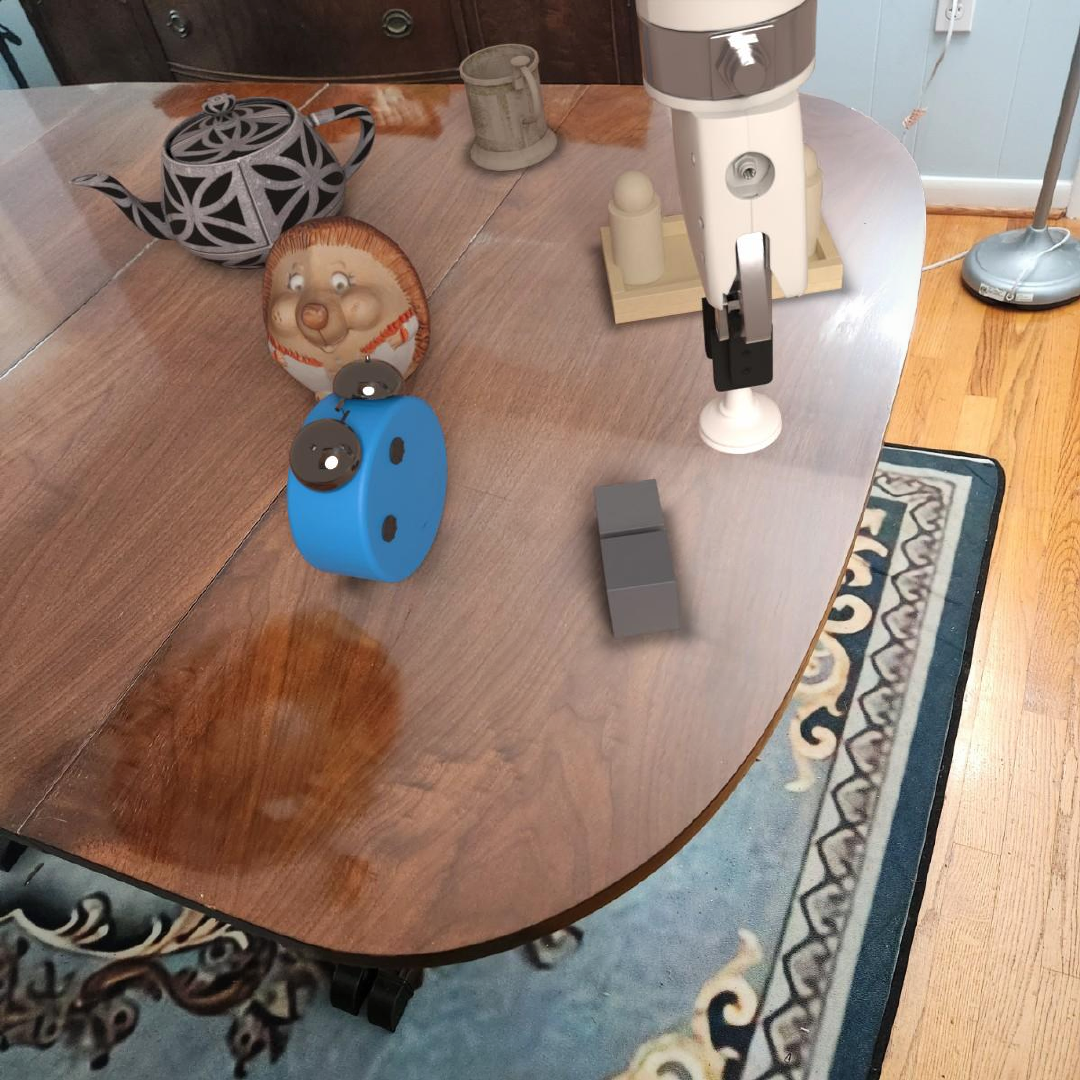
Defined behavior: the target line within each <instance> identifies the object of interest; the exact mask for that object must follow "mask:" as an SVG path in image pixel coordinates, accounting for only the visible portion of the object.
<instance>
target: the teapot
mask: <svg viewBox="0 0 1080 1080" xmlns="http://www.w3.org/2000/svg"><path fill="white" fill-rule="evenodd" d="M201 109H202V110H200V111H198V112H195V113H194V114H192V115H190V116H188V117H187V118H185V119H184V120H182V121H181V122H180V123H178V124H177V125H175V127H173V128H172V129H171V130H170V132H168V133H167V135H166V137H165V138H164V140H163V142H162V145H161V154H160V155H161V156H160V193H161V200H159V201H147V200H144V199H141V198H139V197H137V196H136V195H134V194H133V193H132V192H131V191H130V190H129V189H128V188H127V187H126V186H124V185H123V184H122V182H121V181H120V180H118V179H116V178H115V177H113V176H111V175H109V174H107V173H104V172H90V173H86V174H83V175H79V176H77V177H74V178H72V179H70V180H69V181H68V184H69V185H73V186H78V187H85V188H86V187H87V188H90V189H93V190H96V191H98V192H100V193H101V194H103V195H104V196H105V197H107V198H109V199H110V201H112V203H114V204H115V206H116V207H117V208H118V209H119V210H120V211H121V212H122V213H123V215H125V216H126V218H127V219H128V220H129V221H130V222H131V223H132V224H133V226H135V227H136V228H137V229H138V230H140V231H141V232H142V233H144V234H146V235H148V236H150V237H153V238H155V239H159V240H163V241H176V242H177V244H178V245H180V247H181V248H183V249H184V250H185V251H186V252H188V253H189V254H191V255H193V256H195V257H197V258H198V259H201V260H204V261H206V262H210V263H212V264H217V265H220V266H223V267H226V268H232V269H241V270H242V269H256V268H263V267H265V264H266V261H267V257H268V255H269V252H270V250H271V248H272V246H273V244H274V242H275V241H276V240H277V239H278V237H279V236H280V235H281V234H282V233H283V232H285V231H287V230H288V229H290V228H292V227H293V226H295V225H296V224H299V223H301V222H304V221H307V220H310V219H314V218H321V217H327V216H339V214H340V212H341V210H342V208H343V206H344V202H345V201H346V200H345V199H346V193H347V184H346V183H347V182H348V181H349V180H351V178H352V177H353V176H354V175H355V174H356V173H357V172H358V171H359V169H360V168H361V167H362V166H363V164H364V163H365V161H366V160H367V158H368V157H369V155H370V152H371V150H372V148H373V145H374V141H375V137H376V122H375V117H374V115H373V113H372V112H371V110H370V109H369V107H367V106H366V105H363V104H361V103H346V104H339V105H336V106H332V107H327V108H325V109H321V110H318V111H315V112H312V113H308V114H306V115H304V114H302V112H301V111H300V110H299V109H298V108H297V107H295V106H294V104H292V103H290V102H289V101H287V100H285V99H281V98H277V97H272V96H250V97H243V98H237V97H236V96H235V95H234V94H232V93H228V92H227V93H226V92H225V93H218V94H215V95H212V96H210V97H208V98H207V99H205V100H204V101H203V102H202V104H201ZM346 119H357V120H359V123H360V132H359V138H358V142H357V145H356V147H355V149H354V151H353V152H352V155H351V156H350V157H349V159H348V160H347V161H346V162H345V163H344V164H343V166H342V165H341V164H340V163H341V162H340V161H339V159H338V157H337V156H336V154H335V152H334V151H333V149H332V148H331V147H330V145H329V144H328V142H327V141H326V140H325V138H324V137H323V135H322V134H321V133H320V132H319V131H318V129H316V128H318V127H321V126H324V125H327V124H330V123H334V122H337V121H341V120H346Z"/></svg>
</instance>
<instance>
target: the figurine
mask: <svg viewBox="0 0 1080 1080" xmlns="http://www.w3.org/2000/svg"><path fill="white" fill-rule="evenodd" d="M261 295H262V296H261V297H262V298H261V299H262V300H261V304H262V306H261V307H262V319H263V323H264V327H265V331H266V335H267V346H268V348H269V351H270V355H271V357H272V358H273V360H274V361H275V362H276V363H279V365H280V367H281V369H282V370H283V371H284V372H286V373H287V374H288V375H289V376H290V377H291V378H292V379H294V380H295V381H297V382H298V383H299V384H301V385H302V386H304V387H305V388H307V389H308V390H309V391H311V392H312V393H313V394H314V400H315V401H316V402H317V403H318V402H320V401H321V400H322V399H323V398H324V397H326V396H327V395H329V394H331V393H333V380H334V377H335V375H336V373H337V372H338V371H339V370H340V369H341V368H342V367H343V366H344V365H346V364H347V363H349V362H351V361H354V360H357V359H363V358H365V355H370V358H375V359H380V360H383V361H386V362H388V363H390V364H392V365H393V366H395V367H396V368H397V369H398V370H399V371H400V373H401V374H402V376H403V378H404V381H405V382H406V380H407V379H408V377H410V376H411V375H412V374H413V373H414V372H415V371H416V370H417V369H418V367H419V365H421V363H422V361H423V360H424V358H425V355H426V353H427V350H428V347H429V344H430V340H431V313H430V308H429V303H428V300H427V296H426V293H425V289H424V287H423V284H422V282H421V279H420V276H419V274H418V271H417V269H416V267H415V266H414V265H413V263H412V262H411V260H410V258H409V257H408V255H407V254H406V252H405V251H404V250H403V249H402V248H401V247H400V245H399V243H397V242H396V241H394V240H393V239H392V238H391V237H390V236H388V235H387V234H385V233H384V232H383V231H381V230H379V229H378V228H376V227H375V226H374V225H371V224H370V223H368V222H366V221H363V220H360V219H357V218H355V217H352V216H350V215H349V216H348V215H338V216H327V217H321V218H314V219H310V220H307V221H304V222H301V223H299V224H296V225H295V226H293V227H292V228H290V229H288V230H287V231H285V232H283V233H282V234H281V235H280V236H279V237H278V239H277V240H276V241H275V242H274V244H273V246H272V248H271V250H270V252H269V255H268V257H267V261H266V264H265V266H264V272H263V277H262V284H261Z"/></svg>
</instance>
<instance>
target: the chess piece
mask: <svg viewBox="0 0 1080 1080" xmlns="http://www.w3.org/2000/svg"><path fill="white" fill-rule="evenodd" d="M739 308H740V305H739V300H736V301H730V302H729V303H728V314H729V312H730V311H731V310H734V309H739ZM698 419H699V420H698V433H699V436H700V437H701V439H702V441H703V442H704V443H705V444H706V445H707V446H709V447H710V448H712V449H714V450H715V451H718V452H721V453H725V454H732V455H743V454H751V453H754V452H758V451H761V450H764V448H767V447H768V446H770V445H771V444H772V443H774V441H776V440H777V438H778V437H779V436H780V434H781V432H782V429H783V420H782V415H781V410H780V408H779V406H778V405H777V403H776V402H775V401H774V400H773V399H771V398H770V397H769V396H767V395H765V394H763V393H760V392H756V391H752V387H748V388H742V389H736V390H730V391H725V392H723V393H721V394H720V395H717V396H715V397H714V398H712V399H711V400H709V401H708V402H707V403H706V404H705V405H703V408H702V409H701V411H700V414H699V418H698Z"/></svg>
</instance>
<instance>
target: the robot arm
mask: <svg viewBox="0 0 1080 1080" xmlns="http://www.w3.org/2000/svg"><path fill="white" fill-rule="evenodd" d="M635 12H636V22H637V31H638V41H639V52H640V61H641V62H640V63H641V71H642V83H643V88H644V91H645V93H646V94H647V95H648V96H649V97H650V98H651V99H652V100H653V101H655V102H657V103H658V104H660V105H662V106H665V107H667V108H670V113H671V127H672V128H671V129H672V141H673V151H674V162H675V171H676V180H677V186H678V194H679V200H680V206H681V211H682V212H681V213H682V214H683V217H684V221H685V226H686V230H687V234H688V237H689V241H690V245H691V249H692V252H693V256H694V259H695V262H696V266H697V269H698V273H699V276H700V279H701V283H702V286H703V289H704V292H705V295H706V297H704V298H702V310H701V312H702V313H701V314H702V328H703V343H704V352H705V356H706V358H707V359H709V360H712V361H711V363H712V377H713V385H714V388H715V390H716V391H717V392H719V393H725V392H726V391H730V390H736V389H742V388H748V387H751V388H753V387H754V388H755V387H759V386H764V385H768V384H770V383H772V381H773V379H774V324H773V299H772V273H773V275H774V277H775V278H776V280H777V282H778V284H779V286H780V288H781V290H782V292H783V294H784V295H785V297H784V298H785V299H789V298H793V297H795V298H800V297H802V296H803V295H805V294H804V292H805V291H806V289H807V287H808V245H807V200H806V170H805V153H804V144H805V140H804V139H805V138H804V128H803V118H802V109H801V101H800V93H799V88H800V87H801V86H802V85H804V84H805V83H806V82H807V81H809V79H810V78H811V76H812V74H813V73H814V71H815V68H816V60H817V59H816V57H817V55H816V54H817V52H816V51H817V31H818V29H817V27H818V0H635ZM736 300H739V305H740V308H739V309H734V310H731V311H730V312H729V314H728V303H729V302H730V301H736Z"/></svg>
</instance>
